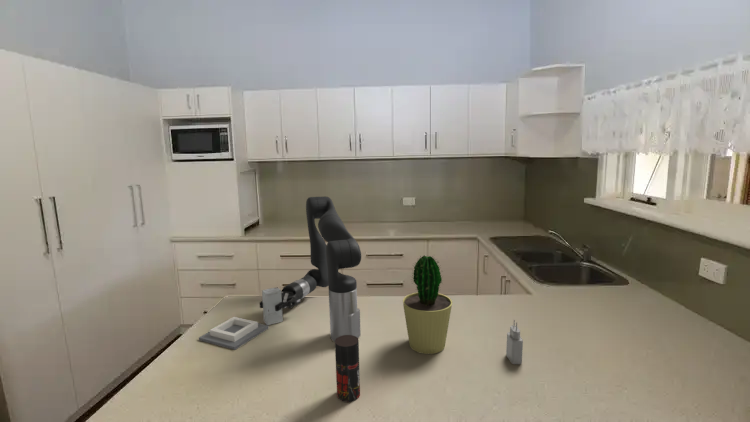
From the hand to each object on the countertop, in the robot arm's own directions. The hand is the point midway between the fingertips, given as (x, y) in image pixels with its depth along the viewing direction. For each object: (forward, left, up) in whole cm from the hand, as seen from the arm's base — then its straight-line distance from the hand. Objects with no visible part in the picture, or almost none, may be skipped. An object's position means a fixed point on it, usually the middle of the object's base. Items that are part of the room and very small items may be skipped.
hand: (268, 307), depth 139 cm
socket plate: (+6, +11, -7) cm, 14 cm away
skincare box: (0, -2, -7) cm, 7 cm away
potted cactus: (-57, -8, -7) cm, 58 cm away
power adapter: (-83, -10, -7) cm, 84 cm away
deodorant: (-46, +24, -7) cm, 52 cm away
